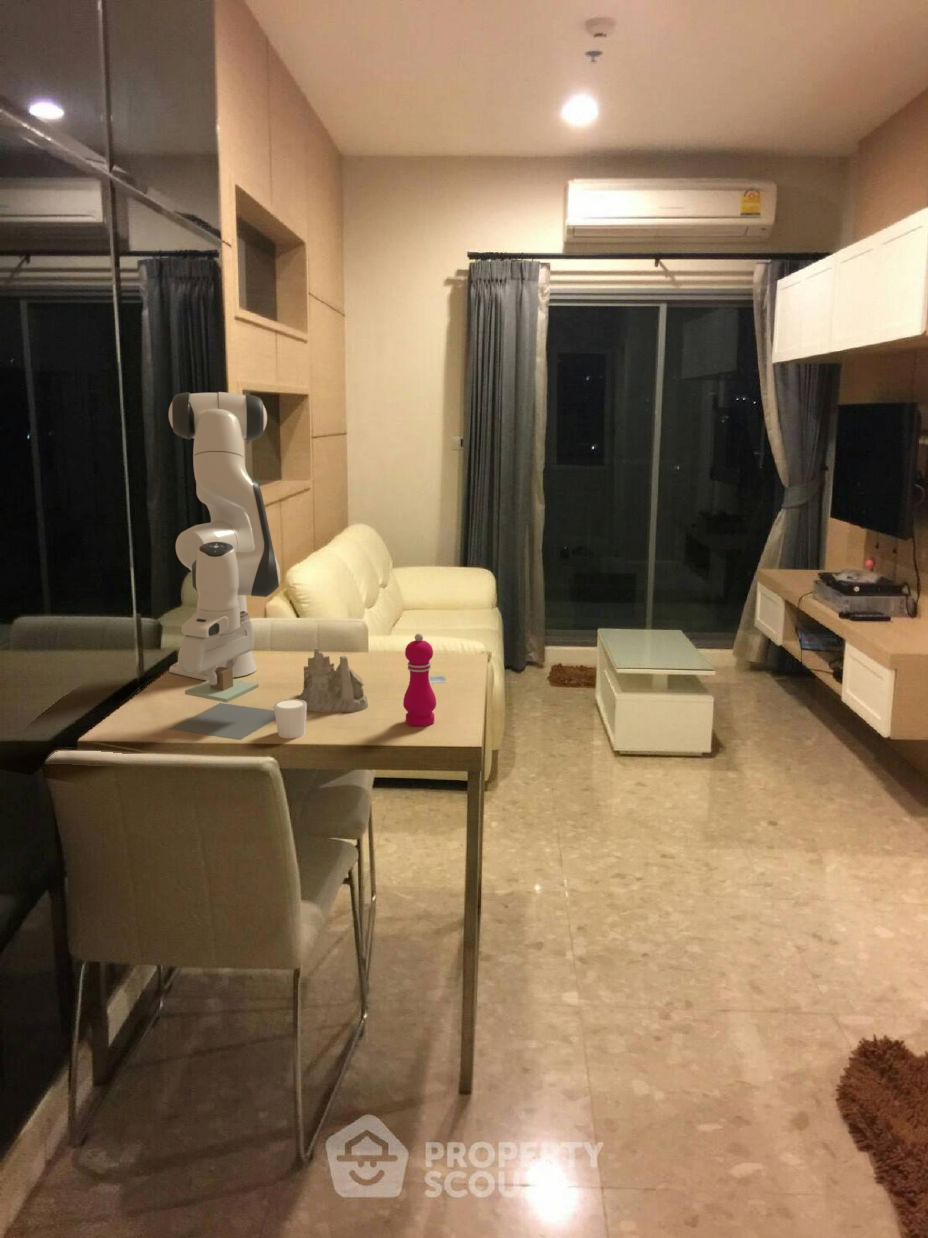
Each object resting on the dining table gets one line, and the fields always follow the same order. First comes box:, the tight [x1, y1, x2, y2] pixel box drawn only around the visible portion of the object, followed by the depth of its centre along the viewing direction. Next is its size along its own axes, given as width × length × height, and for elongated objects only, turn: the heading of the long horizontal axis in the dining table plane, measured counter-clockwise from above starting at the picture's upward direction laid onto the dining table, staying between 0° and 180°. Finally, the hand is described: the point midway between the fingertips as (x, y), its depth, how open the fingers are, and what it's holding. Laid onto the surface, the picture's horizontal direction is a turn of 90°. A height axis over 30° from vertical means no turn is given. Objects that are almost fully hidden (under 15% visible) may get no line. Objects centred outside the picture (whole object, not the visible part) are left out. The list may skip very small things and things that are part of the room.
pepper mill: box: [402, 633, 437, 728], centre depth 200 cm, size 7×7×20 cm
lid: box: [184, 667, 259, 704], centre depth 200 cm, size 11×11×5 cm
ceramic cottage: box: [298, 647, 369, 714], centre depth 214 cm, size 16×16×15 cm
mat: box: [169, 702, 276, 741], centre depth 202 cm, size 18×18×1 cm
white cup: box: [273, 698, 307, 739], centre depth 194 cm, size 7×7×7 cm
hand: (221, 680), depth 200 cm, fingers closed on lid, 3 cm apart
